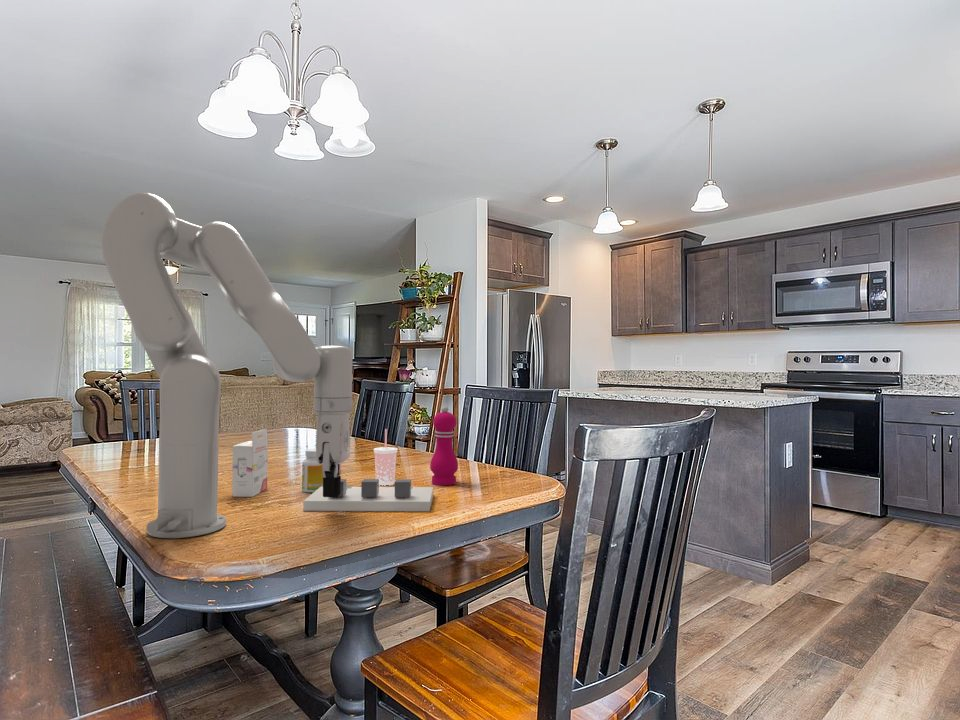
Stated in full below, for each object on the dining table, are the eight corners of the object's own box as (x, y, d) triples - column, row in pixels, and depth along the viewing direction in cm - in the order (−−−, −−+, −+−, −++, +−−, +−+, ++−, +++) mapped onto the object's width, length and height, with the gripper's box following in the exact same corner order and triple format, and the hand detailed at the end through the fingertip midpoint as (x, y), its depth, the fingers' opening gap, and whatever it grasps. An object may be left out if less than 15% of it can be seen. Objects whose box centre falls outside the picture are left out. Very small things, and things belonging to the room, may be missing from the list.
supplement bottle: (329, 489, 133) (330, 449, 133) (313, 493, 128) (314, 452, 128) (313, 487, 135) (314, 447, 135) (296, 491, 130) (297, 450, 131)
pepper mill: (462, 482, 143) (463, 405, 144) (449, 487, 137) (450, 407, 137) (438, 479, 146) (439, 404, 147) (424, 484, 140) (425, 406, 140)
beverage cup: (390, 487, 136) (391, 430, 137) (368, 485, 138) (369, 429, 138) (401, 482, 142) (401, 428, 142) (379, 480, 144) (380, 427, 144)
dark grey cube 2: (376, 497, 116) (376, 481, 116) (361, 497, 116) (361, 481, 116) (378, 493, 119) (378, 479, 119) (363, 493, 119) (364, 478, 119)
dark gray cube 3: (409, 497, 116) (409, 482, 116) (394, 497, 116) (394, 482, 116) (411, 494, 119) (411, 479, 119) (396, 493, 119) (396, 479, 119)
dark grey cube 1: (343, 496, 116) (343, 481, 116) (327, 496, 115) (328, 481, 115) (346, 493, 119) (346, 478, 119) (331, 493, 118) (331, 478, 118)
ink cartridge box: (247, 488, 133) (248, 427, 133) (267, 489, 132) (268, 428, 133) (230, 497, 124) (231, 432, 124) (252, 497, 124) (253, 432, 124)
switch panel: (429, 511, 114) (429, 501, 114) (303, 510, 113) (303, 500, 113) (433, 495, 128) (433, 486, 128) (320, 495, 127) (320, 486, 127)
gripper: (343, 409, 105) (341, 505, 104) (358, 404, 119) (357, 488, 119) (303, 408, 104) (302, 505, 104) (324, 403, 119) (322, 488, 119)
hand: (331, 496), depth 112 cm, fingers closed
